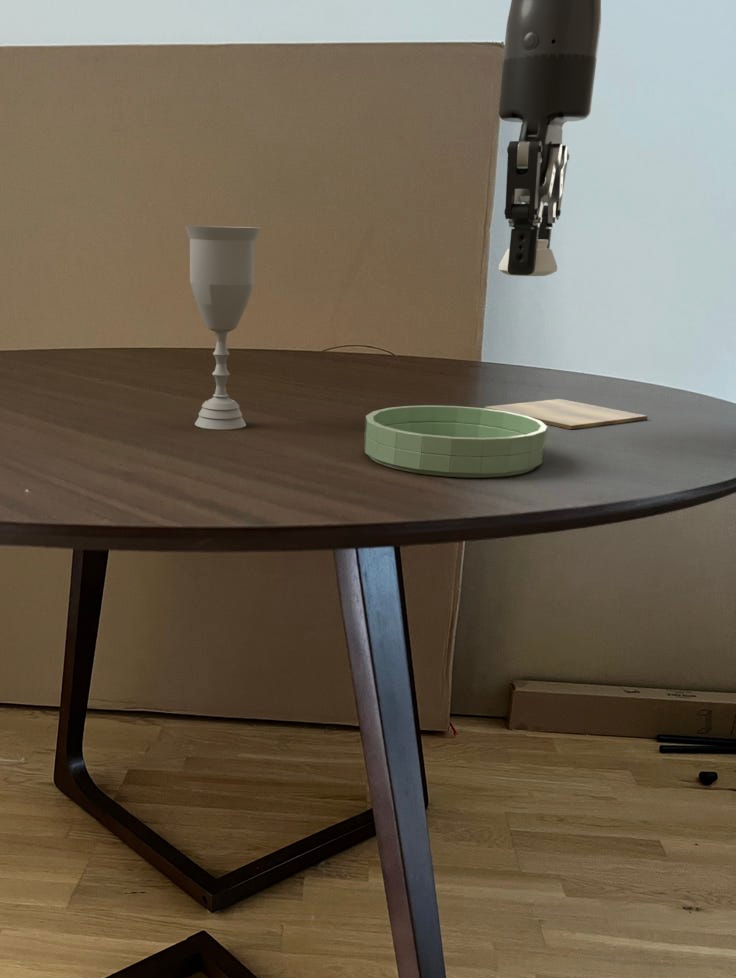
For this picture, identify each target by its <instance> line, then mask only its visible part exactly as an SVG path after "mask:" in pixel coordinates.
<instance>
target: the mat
mask: <svg viewBox="0 0 736 978" xmlns="http://www.w3.org/2000/svg"><path fill="white" fill-rule="evenodd" d="M484 409H491V410H499V411H506V412H511V413H516V414H520V415H525V416H529V417H531V418H534V419H537V420H540V421H542V422H543V423H544V424H545V425H549V426H552V427H553V426H554V427H558V428H562V429H567V430H578V429H584V428H585V429H586V428H594V427H603V426H608V425H615V424H625V423H633V422H640V421H646V420H648V419H649V418H648V417H649V416H648V415H645V414H640V413H635V412H630V411H624V410H619V409H615V408H610V407H604V406H599V405H594V404H588V403H583V402H578V401H573V400H567V399H562V398H554V399H544V400H536V401H526V402H518V403H507V404H498V405H490V406H489V405H488V406H484Z"/></svg>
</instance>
